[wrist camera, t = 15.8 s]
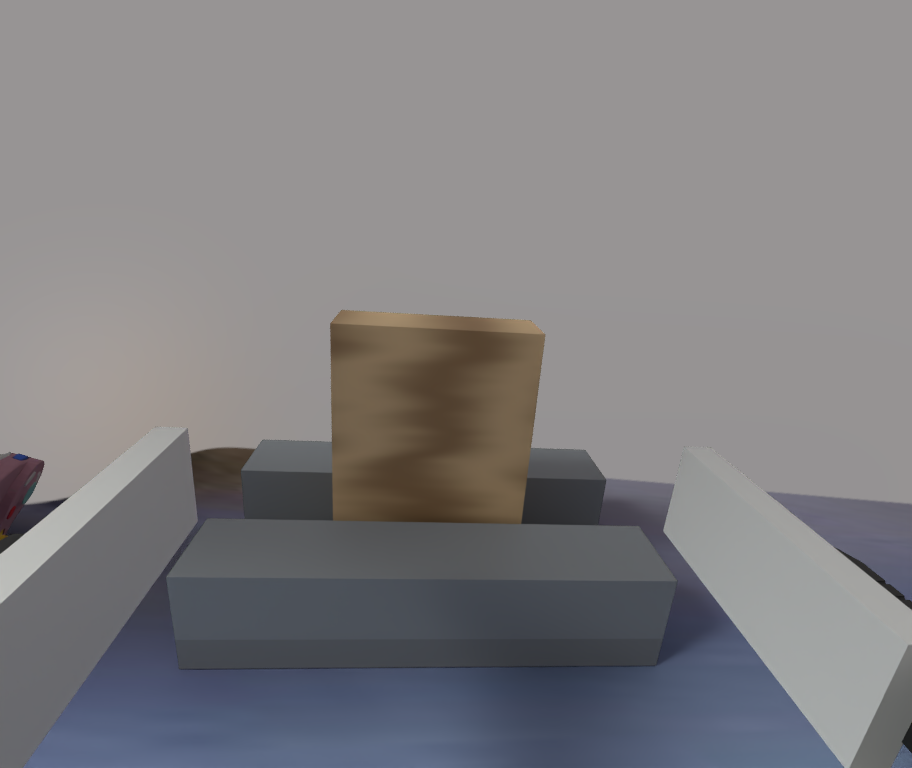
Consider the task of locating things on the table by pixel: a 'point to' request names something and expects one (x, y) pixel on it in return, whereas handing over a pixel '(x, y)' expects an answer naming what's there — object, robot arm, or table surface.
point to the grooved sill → (416, 578)
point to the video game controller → (16, 485)
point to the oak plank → (432, 416)
